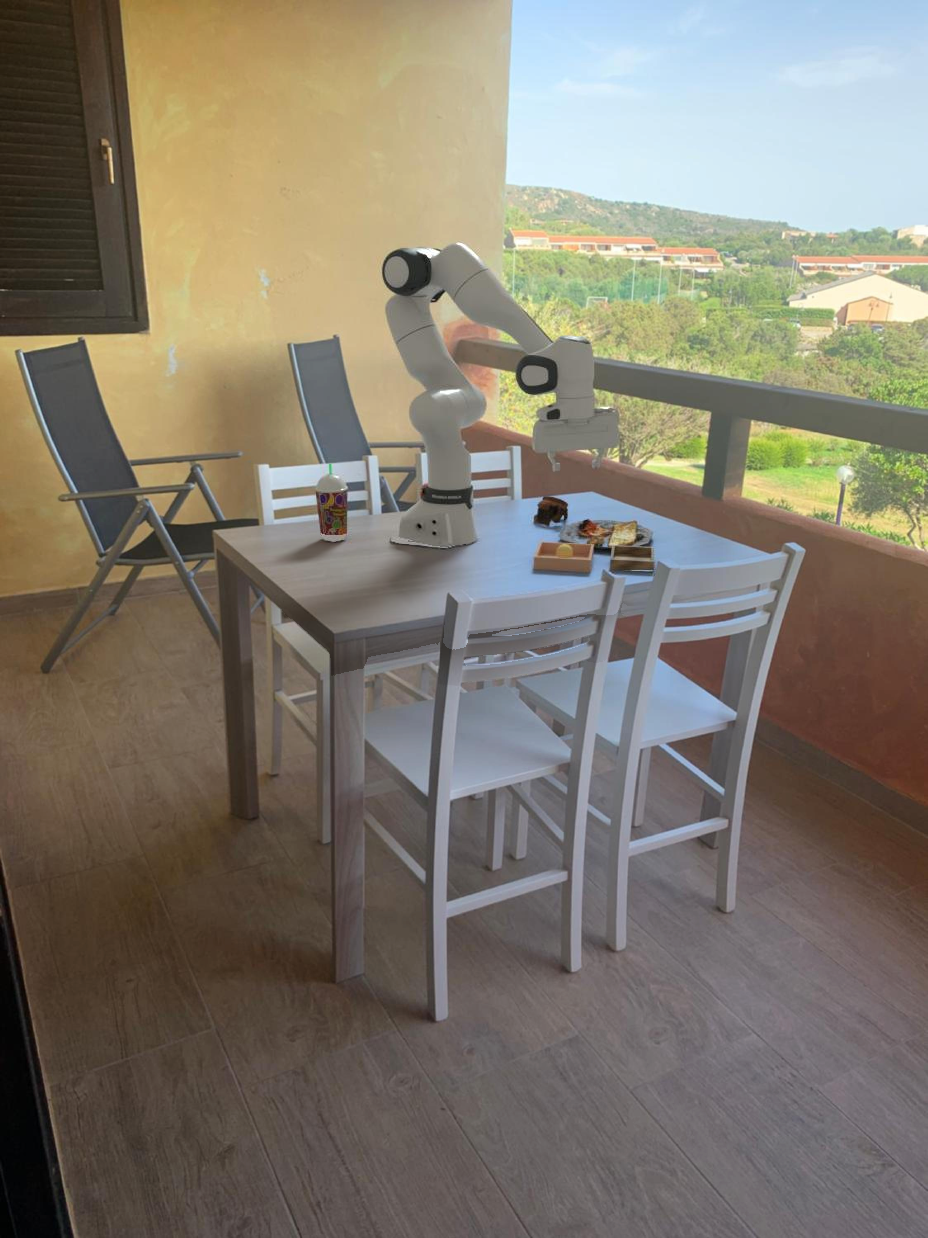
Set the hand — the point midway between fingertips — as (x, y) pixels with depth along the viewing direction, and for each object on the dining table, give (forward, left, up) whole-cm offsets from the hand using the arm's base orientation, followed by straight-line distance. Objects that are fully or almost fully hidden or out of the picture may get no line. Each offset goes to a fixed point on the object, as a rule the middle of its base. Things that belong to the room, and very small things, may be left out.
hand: (576, 469), depth 214 cm
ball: (-2, -3, -19) cm, 20 cm away
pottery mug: (-8, +34, -22) cm, 41 cm away
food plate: (+7, +19, -22) cm, 30 cm away
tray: (+14, -1, -22) cm, 26 cm away
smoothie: (-63, +6, -22) cm, 67 cm away
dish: (-2, -3, -22) cm, 22 cm away
